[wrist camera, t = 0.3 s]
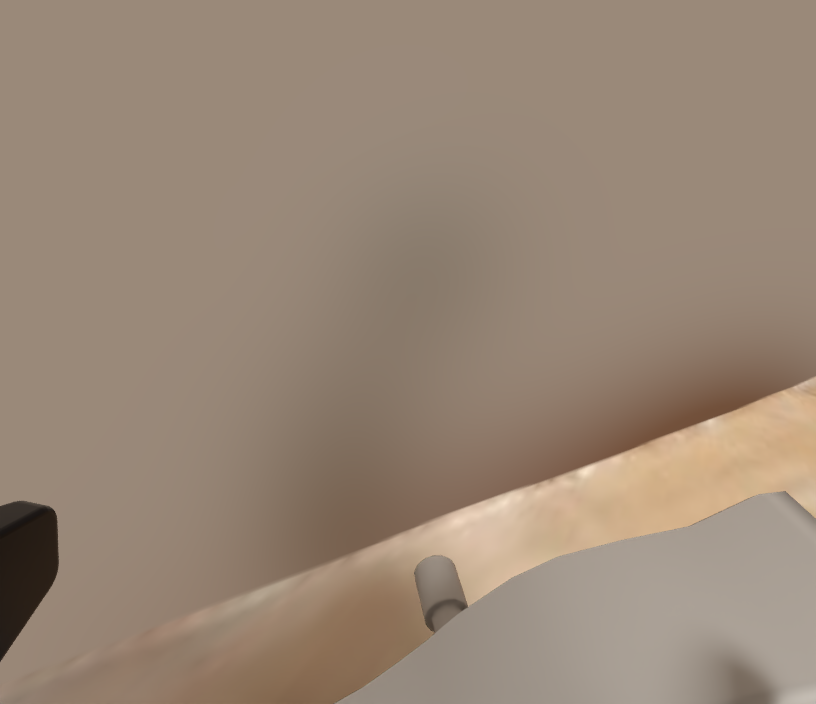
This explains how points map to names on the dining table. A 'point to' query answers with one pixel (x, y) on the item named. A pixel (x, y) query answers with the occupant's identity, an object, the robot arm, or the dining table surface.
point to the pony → (629, 621)
